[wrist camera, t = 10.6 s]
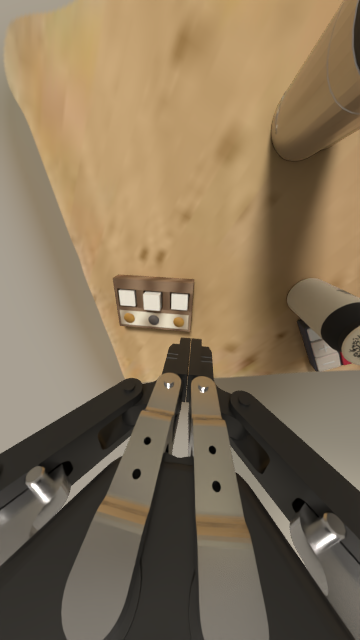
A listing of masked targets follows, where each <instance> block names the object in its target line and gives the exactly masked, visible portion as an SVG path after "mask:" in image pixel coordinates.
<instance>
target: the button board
mask: <svg viewBox="0 0 360 640" xmlns="http://www.w3.org/2000/svg"><path fill="white" fill-rule="evenodd" d="M113 283H114V290H115V297H116V303H117V310H118V316H119V323H120V326H131V327H142V328H154V329H165V330H176V331H188V332H190V327H191V314H192V301H193V287H194V279H179V278H163V277H147V276H132V275H117V276H115V277H114V278H113ZM120 289H132V290H136V296H137V305H136V306H124V305H120V298H119V290H120ZM145 291H158V292H162V307H161V309H160V311H155V310H144V303H143V294H144V293H145ZM172 292H174V293H189V295H188V308H187V310H176V309H171V296H172Z"/></svg>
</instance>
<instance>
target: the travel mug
mask: <svg viewBox="0 0 360 640" xmlns="http://www.w3.org/2000/svg"><path fill="white" fill-rule="evenodd" d="M287 303H288V306H289V307H290V309H291V310H293V311H294V312H295V313H296V314H297V315H298V316H299V317H300V318H301V319H302V320H303V321H304V322H305V323H306V324H307V325H308V326H309V327H310V328H311V329H312V330H313V331H314V332H315V333H316V334H317V335H318V336H320V337H321V338H322V339H323V340H324V341H325V342H326V343H327V344H328V345H329V346H330V347H331V348H332V349H334V350H336V351H338V352H342V354H343V356H344V358H345V359H346V360H347V361H349V362H351V363H353V364H356V365H360V298H358V297H356V296H354V295H352V294H350V293H348V292H346V291H344V290H342V289H339V288H337V287H335V286H333V285H331V284H329V283H327V282H325V281H322V280H320V279H317V278H309V279H305V280H302V281H300V282H298V283H297V284H296V285H295V286H293V288H292V289H291V290H290V292H289V294H288V296H287Z"/></svg>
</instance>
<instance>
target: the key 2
mask: <svg viewBox="0 0 360 640" xmlns="http://www.w3.org/2000/svg"><path fill="white" fill-rule="evenodd" d="M188 295H189V293H174V292H172V296H171V309H176V310H187V308H188Z"/></svg>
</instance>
